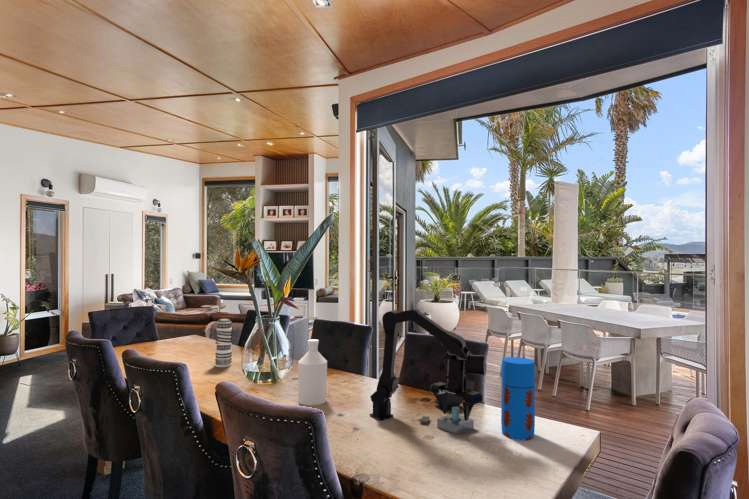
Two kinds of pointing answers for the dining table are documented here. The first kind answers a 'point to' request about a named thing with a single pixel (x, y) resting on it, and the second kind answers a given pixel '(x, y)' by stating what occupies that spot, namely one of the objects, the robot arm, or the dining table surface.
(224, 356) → the decorative candle
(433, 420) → the dining table surface
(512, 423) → the thermos
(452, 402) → the end cap
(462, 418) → the socket block
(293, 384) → the dining table surface
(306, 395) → the bottle
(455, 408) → the round bit
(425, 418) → the charcoal rectangular brick
